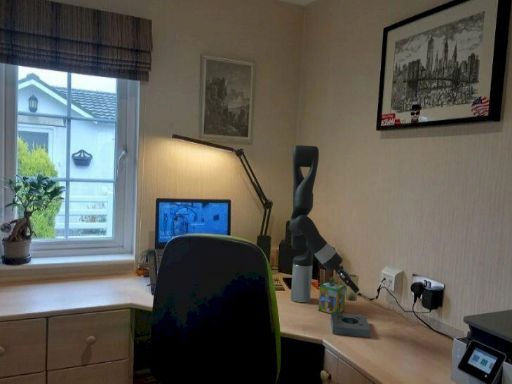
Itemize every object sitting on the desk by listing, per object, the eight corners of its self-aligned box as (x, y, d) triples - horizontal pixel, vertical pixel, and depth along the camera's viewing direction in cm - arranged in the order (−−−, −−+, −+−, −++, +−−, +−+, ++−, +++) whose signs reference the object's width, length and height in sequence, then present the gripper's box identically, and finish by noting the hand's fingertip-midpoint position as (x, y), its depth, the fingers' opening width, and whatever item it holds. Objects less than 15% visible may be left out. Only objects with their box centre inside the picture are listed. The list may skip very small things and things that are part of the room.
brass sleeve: (345, 297, 166) (346, 273, 165) (356, 298, 165) (358, 274, 165) (346, 300, 162) (347, 276, 161) (357, 301, 161) (359, 277, 160)
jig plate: (330, 319, 173) (330, 312, 173) (364, 322, 171) (365, 315, 171) (332, 334, 157) (333, 326, 157) (370, 337, 155) (370, 330, 155)
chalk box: (337, 316, 177) (339, 282, 177) (317, 311, 182) (319, 278, 181) (344, 310, 185) (347, 277, 184) (325, 305, 190) (328, 274, 189)
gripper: (336, 254, 156) (366, 288, 155) (334, 247, 170) (362, 279, 170) (321, 267, 157) (351, 301, 156) (320, 259, 171) (347, 290, 171)
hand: (356, 289), depth 163 cm, fingers closed on brass sleeve, 4 cm apart
